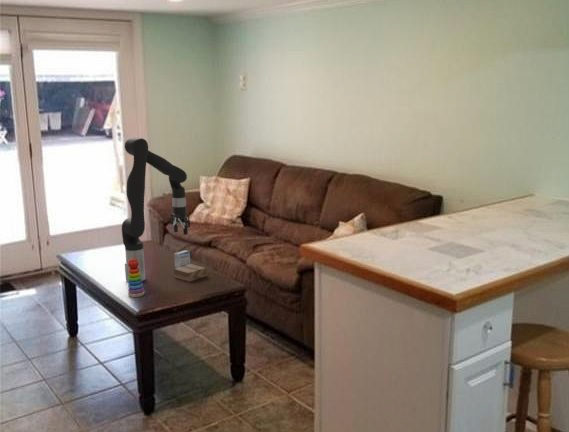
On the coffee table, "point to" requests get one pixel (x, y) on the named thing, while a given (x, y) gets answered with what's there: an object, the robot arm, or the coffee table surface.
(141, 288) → the stacking toy
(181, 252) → the medicine box
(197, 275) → the tan square block
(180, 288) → the coffee table surface
